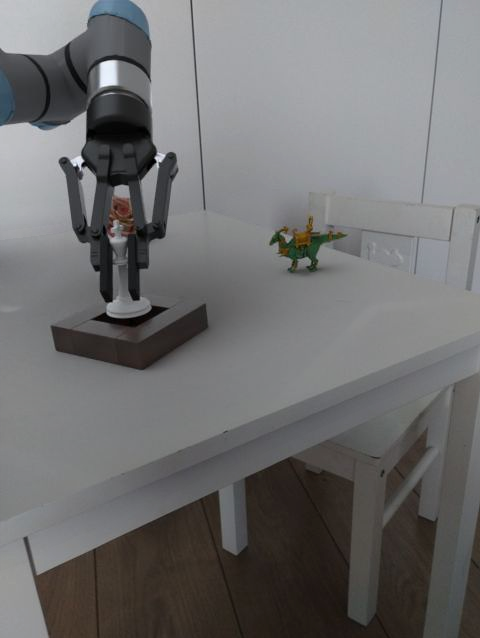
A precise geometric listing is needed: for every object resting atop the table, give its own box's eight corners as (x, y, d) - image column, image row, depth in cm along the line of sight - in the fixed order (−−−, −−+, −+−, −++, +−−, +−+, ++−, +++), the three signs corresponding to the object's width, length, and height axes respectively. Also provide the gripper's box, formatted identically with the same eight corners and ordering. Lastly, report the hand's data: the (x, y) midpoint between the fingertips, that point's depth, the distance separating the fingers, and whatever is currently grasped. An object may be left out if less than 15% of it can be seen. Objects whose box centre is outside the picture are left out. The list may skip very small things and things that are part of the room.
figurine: (268, 270, 87) (266, 216, 83) (344, 263, 88) (345, 209, 85) (272, 276, 84) (270, 220, 80) (350, 268, 86) (351, 213, 82)
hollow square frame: (55, 350, 63) (49, 325, 62) (128, 312, 73) (124, 290, 71) (142, 370, 58) (138, 343, 56) (208, 326, 67) (206, 302, 66)
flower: (83, 233, 108) (87, 201, 102) (117, 213, 113) (123, 183, 107) (120, 264, 106) (127, 234, 100) (153, 243, 112) (161, 214, 106)
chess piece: (97, 315, 63) (81, 225, 58) (123, 300, 67) (110, 214, 62) (135, 320, 61) (122, 227, 57) (159, 304, 65) (148, 216, 61)
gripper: (187, 134, 71) (196, 306, 63) (63, 139, 70) (56, 315, 62) (181, 87, 64) (190, 274, 56) (43, 92, 63) (32, 284, 55)
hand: (120, 295), depth 59 cm, fingers closed on chess piece, 2 cm apart
